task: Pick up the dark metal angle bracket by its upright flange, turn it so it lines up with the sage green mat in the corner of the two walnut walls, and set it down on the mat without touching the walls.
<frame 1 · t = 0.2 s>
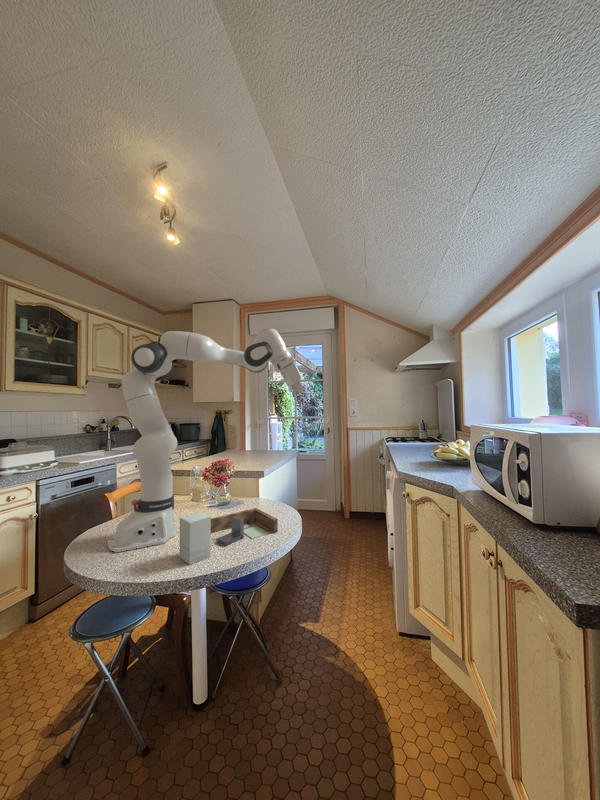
hand: (300, 393, 120), 54 cm above the table, tool tilted 30°, fingers open, 8 cm apart
supplement box: (195, 557, 92), on the table
bracket: (230, 540, 104), on the table
wooden corner frame: (241, 532, 110), on the table
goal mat: (253, 532, 111), on the table
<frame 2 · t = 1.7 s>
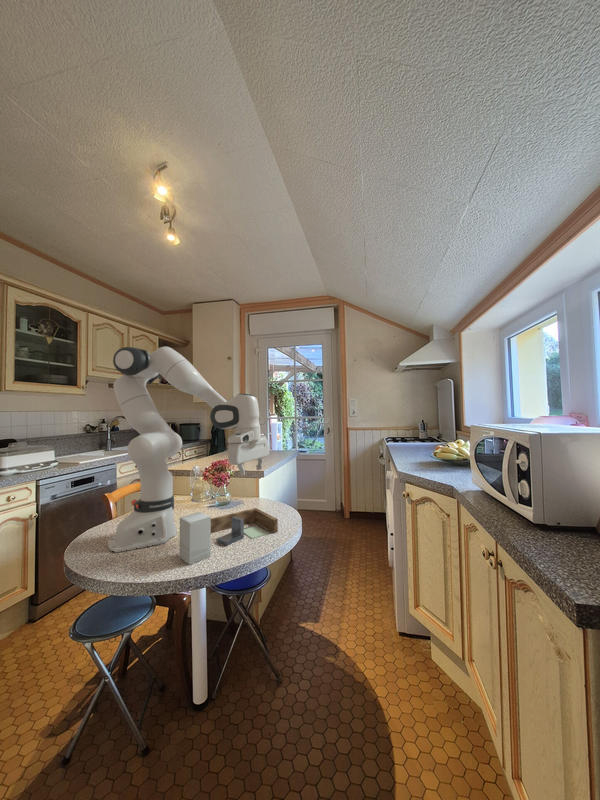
hand: (251, 472, 109), 23 cm above the table, tool pointing down, fingers open, 8 cm apart
nothing on the table moved.
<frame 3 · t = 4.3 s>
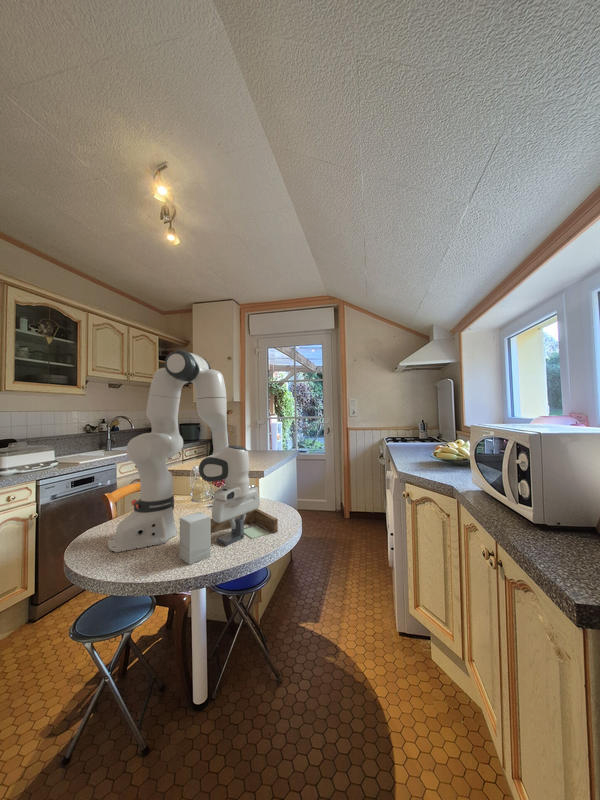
hand: (237, 527, 107), 4 cm above the table, tool pointing down, fingers closed on bracket, 2 cm apart
bracket: (230, 540, 104), on the table, touching gripper
everything else where it was.
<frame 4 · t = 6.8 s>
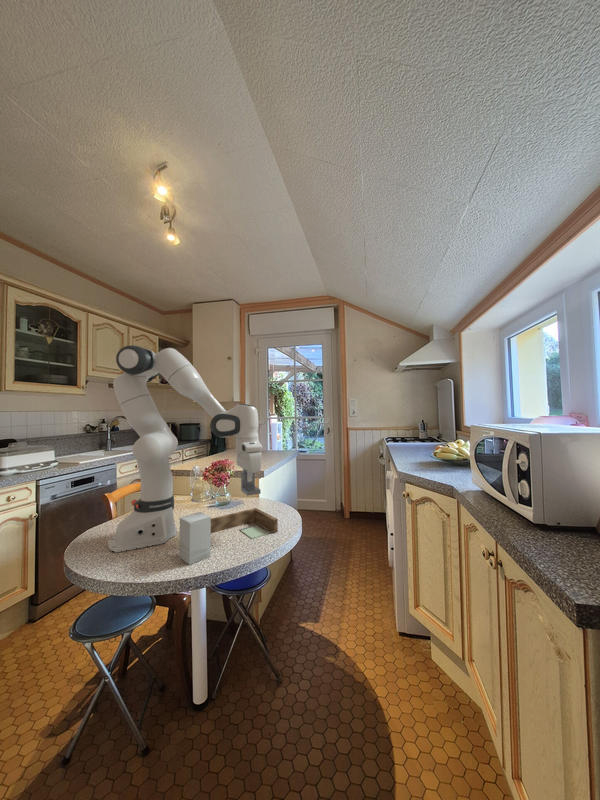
hand: (247, 480, 112), 20 cm above the table, tool pointing down, fingers closed on bracket
bracket: (250, 492, 109), point 16 cm above the table, touching gripper
everything else where it was.
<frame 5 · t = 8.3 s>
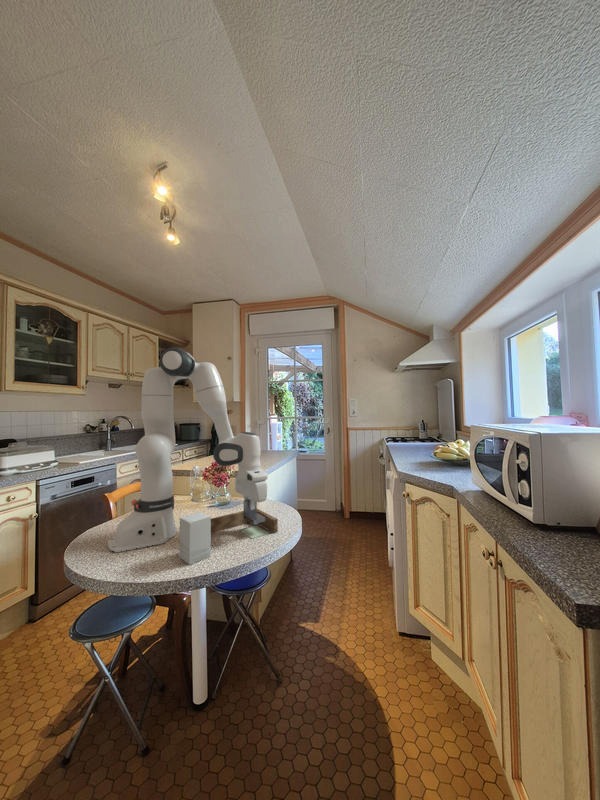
hand: (250, 508, 114), 8 cm above the table, tool pointing down, fingers closed on bracket
bracket: (254, 519, 111), point 5 cm above the table, touching gripper
everything else where it was.
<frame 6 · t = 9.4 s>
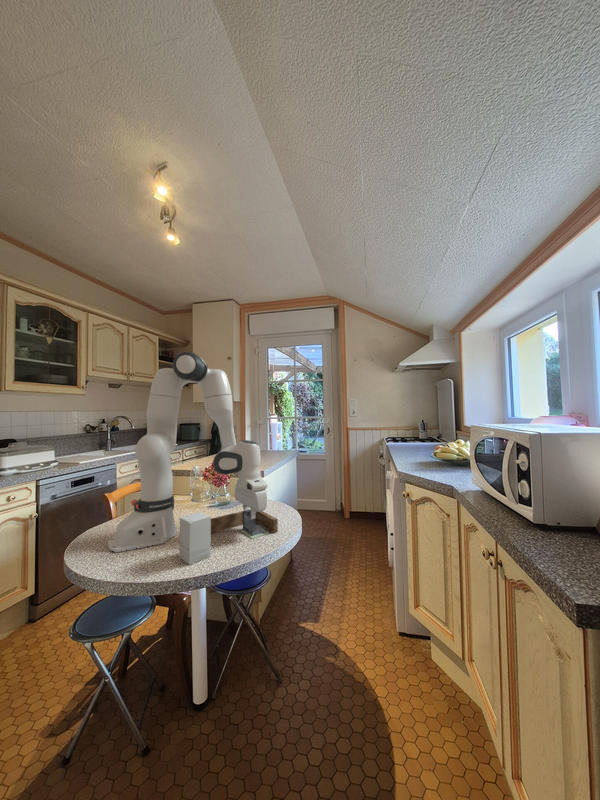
hand: (249, 516, 114), 5 cm above the table, tool pointing down, fingers open, 3 cm apart
bracket: (253, 530, 111), resting on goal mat
everything else where it was.
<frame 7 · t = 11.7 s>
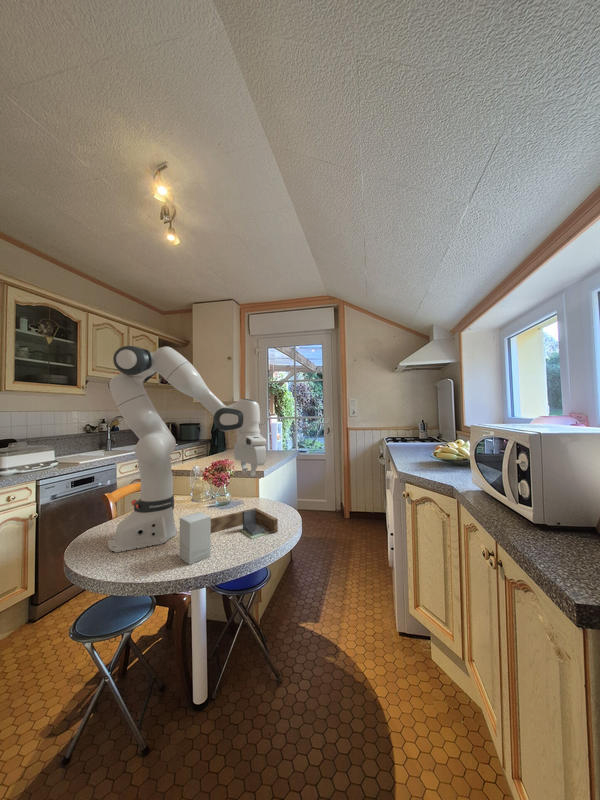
hand: (248, 474, 115), 22 cm above the table, tool pointing down, fingers open, 5 cm apart
nothing on the table moved.
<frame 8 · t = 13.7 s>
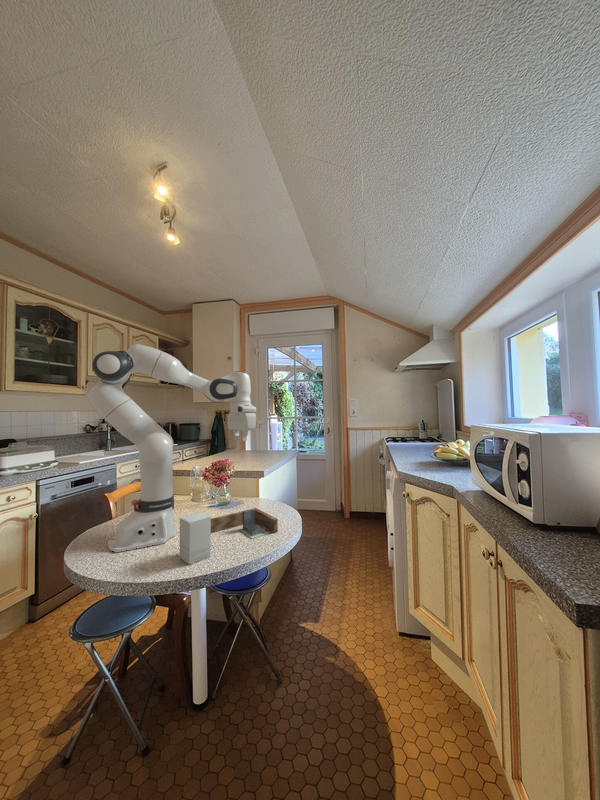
hand: (240, 440, 125), 34 cm above the table, tool pointing down, fingers open, 5 cm apart
nothing on the table moved.
at the end: bracket 0.4 cm off-centre on the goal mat, point 0.3 cm above the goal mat's base; bracket tilted 0°; bracket touching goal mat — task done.
